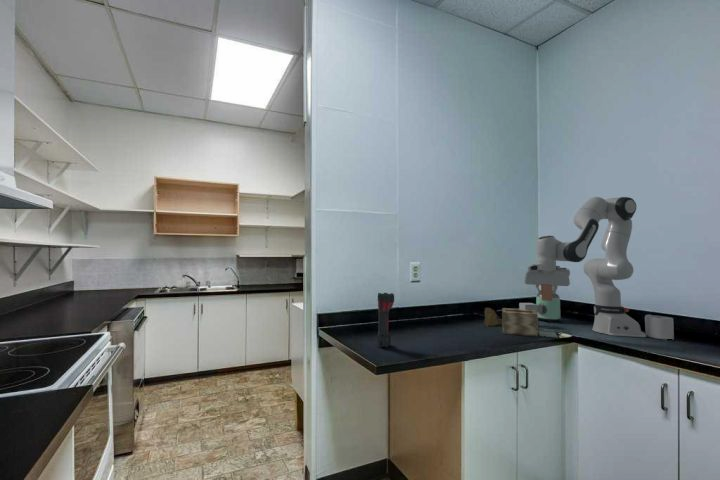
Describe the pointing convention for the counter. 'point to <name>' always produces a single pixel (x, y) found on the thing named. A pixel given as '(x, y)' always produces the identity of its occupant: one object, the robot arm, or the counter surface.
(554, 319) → the juicer
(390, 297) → the flashlight
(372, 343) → the counter surface
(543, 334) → the mat
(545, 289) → the block
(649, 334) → the toilet tissue
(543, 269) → the robot arm
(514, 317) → the crate
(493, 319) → the rock
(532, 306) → the supplement box
